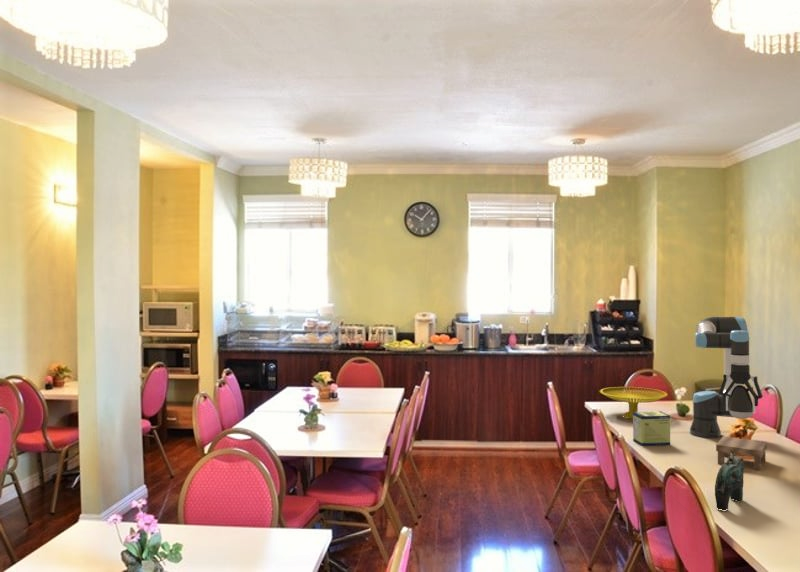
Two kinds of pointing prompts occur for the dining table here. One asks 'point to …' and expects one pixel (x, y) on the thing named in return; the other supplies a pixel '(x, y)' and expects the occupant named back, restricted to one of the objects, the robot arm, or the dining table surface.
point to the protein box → (651, 428)
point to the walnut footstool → (742, 449)
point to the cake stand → (633, 397)
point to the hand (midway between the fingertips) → (740, 411)
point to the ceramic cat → (729, 481)
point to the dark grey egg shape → (740, 403)
